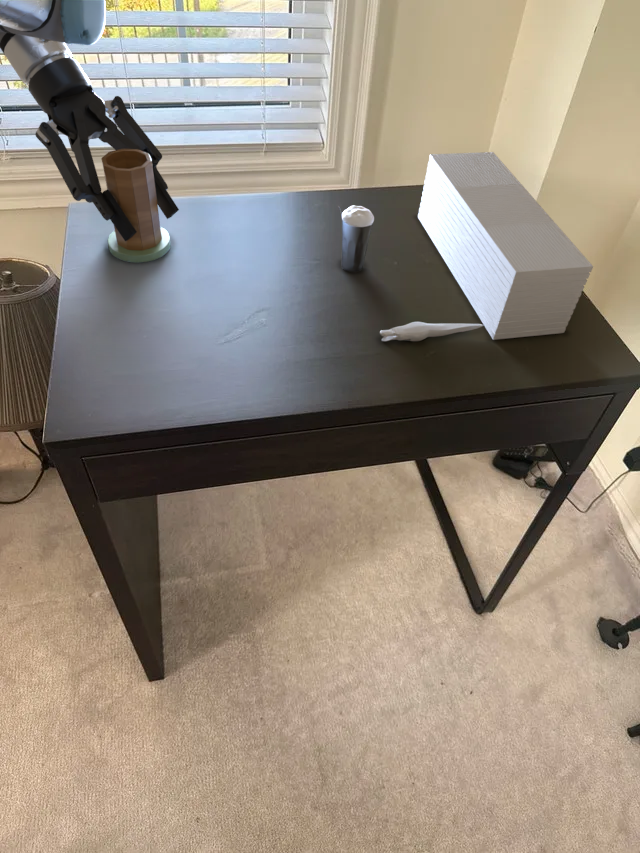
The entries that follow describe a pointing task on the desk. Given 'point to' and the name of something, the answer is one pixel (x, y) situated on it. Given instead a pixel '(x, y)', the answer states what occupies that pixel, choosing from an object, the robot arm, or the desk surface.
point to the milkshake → (355, 236)
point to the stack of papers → (501, 246)
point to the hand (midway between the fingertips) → (152, 225)
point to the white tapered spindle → (425, 330)
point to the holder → (138, 254)
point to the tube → (134, 195)
